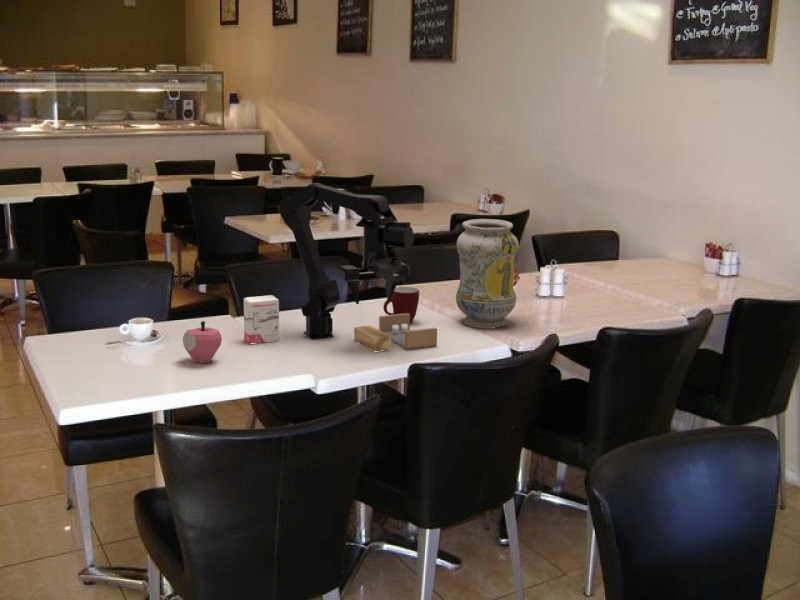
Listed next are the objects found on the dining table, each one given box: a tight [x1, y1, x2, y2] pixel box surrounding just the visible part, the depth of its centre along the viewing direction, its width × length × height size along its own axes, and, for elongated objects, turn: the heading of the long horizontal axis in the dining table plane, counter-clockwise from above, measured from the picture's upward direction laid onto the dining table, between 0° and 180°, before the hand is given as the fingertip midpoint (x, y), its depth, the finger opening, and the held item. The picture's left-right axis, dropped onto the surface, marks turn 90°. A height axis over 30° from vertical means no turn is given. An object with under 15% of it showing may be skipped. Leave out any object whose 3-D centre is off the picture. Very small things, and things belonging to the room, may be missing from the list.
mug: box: [383, 286, 420, 324], centre depth 262 cm, size 11×8×10 cm
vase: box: [455, 218, 520, 330], centre depth 262 cm, size 18×18×30 cm
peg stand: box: [378, 313, 438, 351], centre depth 246 cm, size 9×17×5 cm, turn 26°
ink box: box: [243, 294, 280, 344], centre depth 242 cm, size 9×5×12 cm, turn 118°
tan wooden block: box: [353, 325, 392, 352], centre depth 241 cm, size 5×12×4 cm, turn 28°
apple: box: [182, 320, 223, 363], centre depth 223 cm, size 10×9×10 cm
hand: (373, 302), depth 239 cm, fingers open, 9 cm apart
